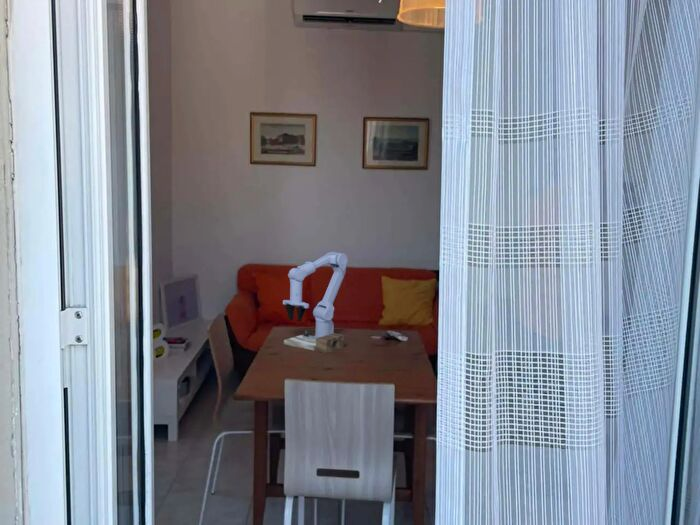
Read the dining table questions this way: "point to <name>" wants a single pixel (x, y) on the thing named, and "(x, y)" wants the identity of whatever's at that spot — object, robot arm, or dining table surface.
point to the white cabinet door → (318, 343)
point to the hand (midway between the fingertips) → (295, 320)
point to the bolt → (309, 337)
